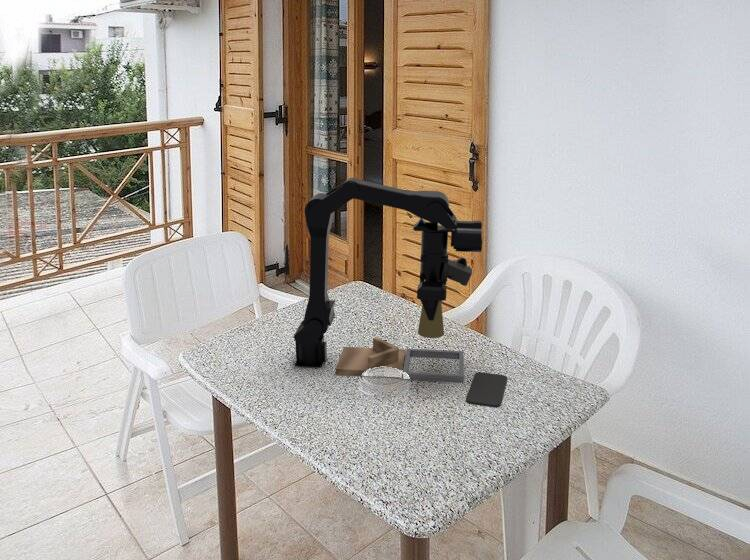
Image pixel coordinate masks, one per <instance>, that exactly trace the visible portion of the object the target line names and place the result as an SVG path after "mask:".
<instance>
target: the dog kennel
mask: <svg viewBox="0 0 750 560" xmlns="http://www.w3.org/2000/svg"><path fill="white" fill-rule="evenodd" d="M406 350H407V349H404V348H403V349H401V348H400V349H399V347H398V346H396V345H394V344H392V343H391V342H388V341H386V340H384V339H382V338H380V337H378V336H375V337H373V338H372V347H358V346H357V347H354V346H343V348H342V351H341V352H340V357H339V359H338V361H337V364H336V367H335V376H348V377H351V376H353V377H362V376H361V375H362V373H363V372H364V371H366V370H367V369H369V368H371V369H372V368H374V367H380V366H386V367H392V368H397V369H399V370H403V368H404V362H405V356H406Z"/></svg>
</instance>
